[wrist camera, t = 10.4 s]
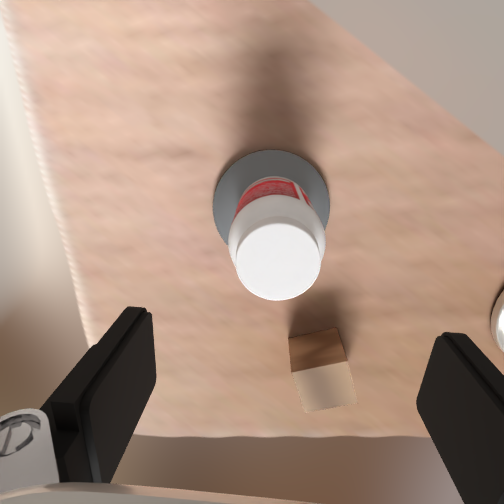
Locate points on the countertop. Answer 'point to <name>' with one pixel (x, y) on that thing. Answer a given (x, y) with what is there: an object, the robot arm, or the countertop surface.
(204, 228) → the countertop surface
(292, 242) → the pill bottle
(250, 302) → the countertop surface
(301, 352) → the light brown wooden block
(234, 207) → the coaster
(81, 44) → the countertop surface
